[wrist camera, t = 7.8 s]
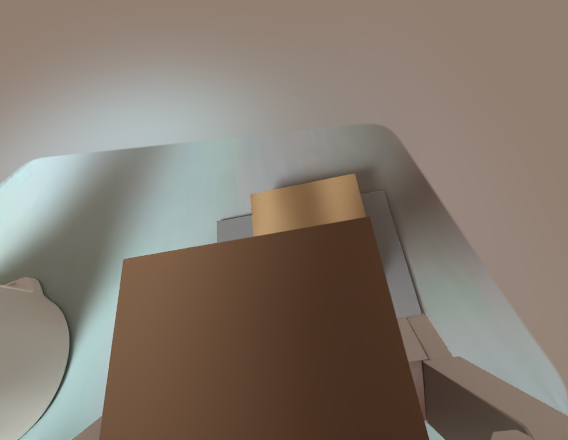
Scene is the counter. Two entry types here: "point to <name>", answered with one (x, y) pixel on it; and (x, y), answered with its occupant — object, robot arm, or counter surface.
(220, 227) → the grey mat
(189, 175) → the counter surface
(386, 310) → the walnut column
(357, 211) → the oak base block
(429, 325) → the robot arm
